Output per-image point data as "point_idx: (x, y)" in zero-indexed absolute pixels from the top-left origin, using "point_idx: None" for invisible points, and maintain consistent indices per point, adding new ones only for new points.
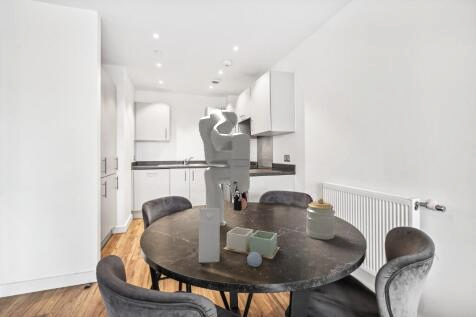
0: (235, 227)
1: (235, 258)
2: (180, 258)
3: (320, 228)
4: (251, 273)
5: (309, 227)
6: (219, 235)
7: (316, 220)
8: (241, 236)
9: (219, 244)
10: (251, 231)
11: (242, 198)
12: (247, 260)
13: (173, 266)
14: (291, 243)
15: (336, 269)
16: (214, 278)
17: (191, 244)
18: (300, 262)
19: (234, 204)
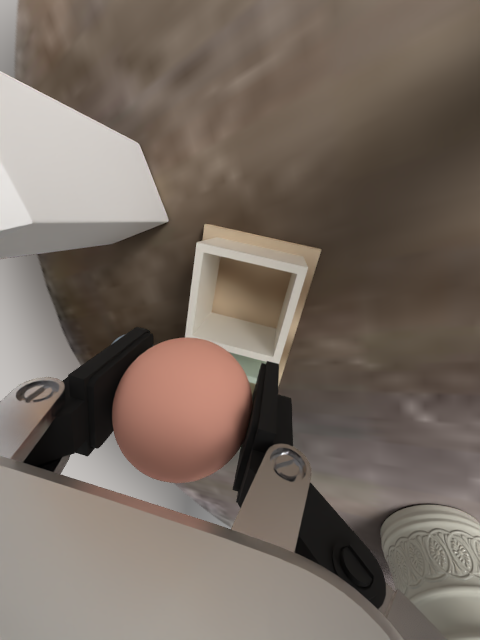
0: (296, 268)
1: (173, 284)
2: (94, 53)
3: (395, 568)
4: (112, 340)
5: (427, 542)
6: (22, 255)
7: (414, 600)
8: (188, 319)
9: (60, 250)
10: (252, 357)
11: (146, 473)
12: (119, 337)
13: (35, 68)
14: (335, 446)
15: (197, 499)
16: (49, 253)
17: (246, 4)
18: None
19: (105, 356)
